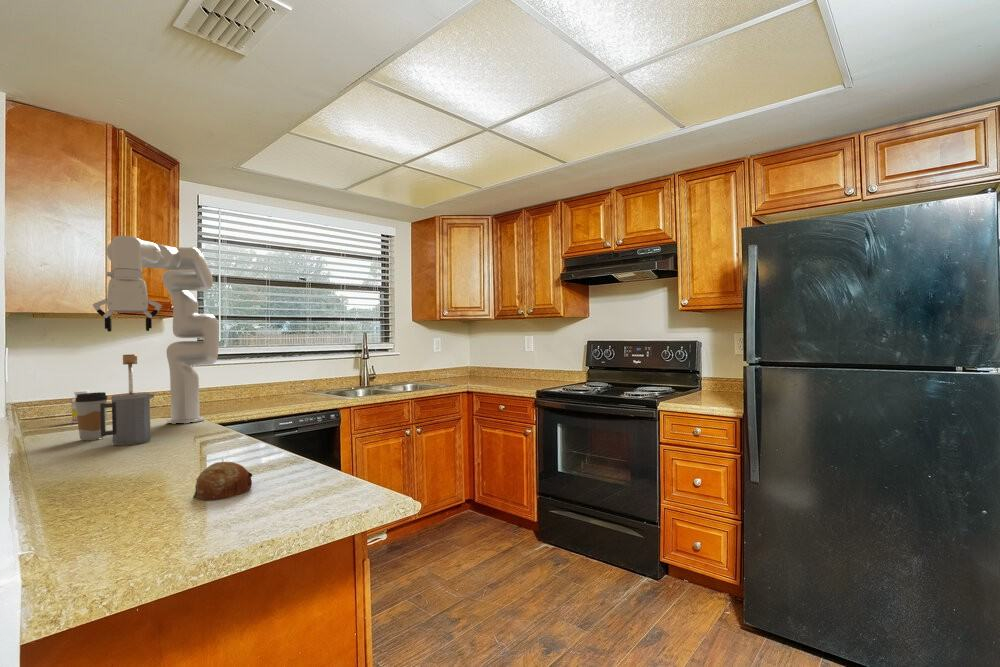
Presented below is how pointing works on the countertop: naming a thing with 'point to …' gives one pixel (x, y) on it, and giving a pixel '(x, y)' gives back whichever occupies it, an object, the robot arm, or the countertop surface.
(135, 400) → the french press
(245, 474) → the bread roll
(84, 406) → the coffee cup
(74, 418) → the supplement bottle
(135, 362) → the plunger
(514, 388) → the countertop surface
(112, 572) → the countertop surface
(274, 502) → the countertop surface
